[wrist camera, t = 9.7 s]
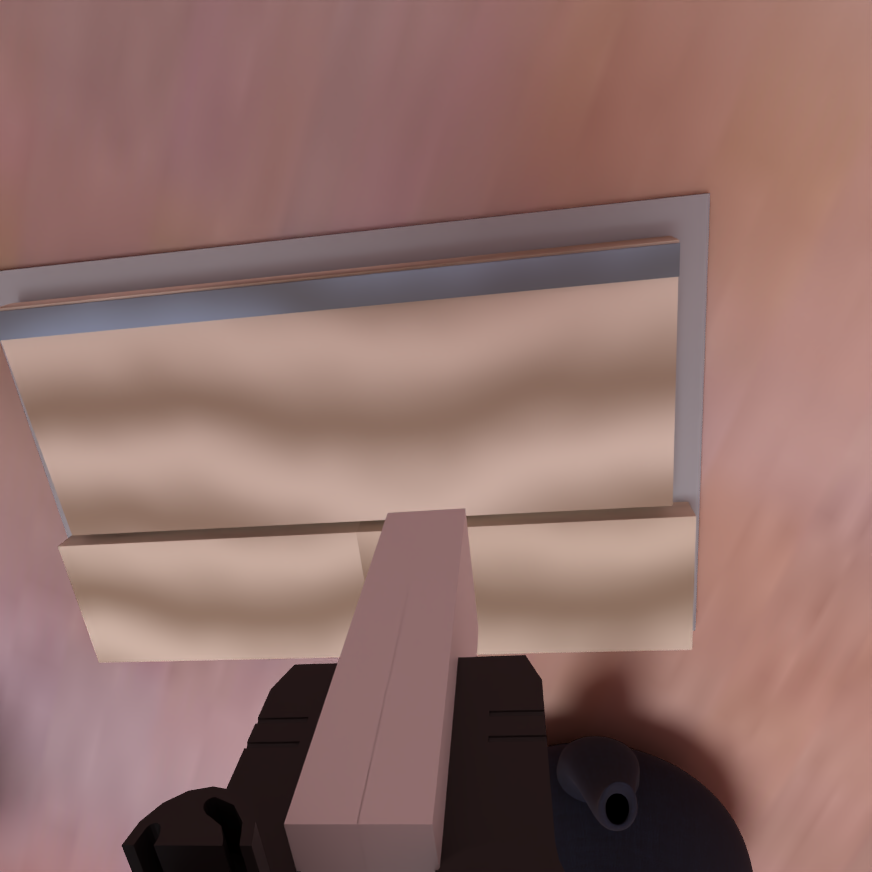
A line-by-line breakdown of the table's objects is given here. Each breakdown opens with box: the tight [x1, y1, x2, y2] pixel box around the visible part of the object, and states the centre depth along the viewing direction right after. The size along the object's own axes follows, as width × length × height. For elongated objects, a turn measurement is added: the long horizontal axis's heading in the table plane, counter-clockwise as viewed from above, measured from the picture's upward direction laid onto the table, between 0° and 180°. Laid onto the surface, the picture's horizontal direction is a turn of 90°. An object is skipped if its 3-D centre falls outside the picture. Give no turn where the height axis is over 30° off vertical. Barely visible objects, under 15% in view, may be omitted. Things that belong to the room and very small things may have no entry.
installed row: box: [58, 502, 696, 663], centre depth 32 cm, size 7×30×1 cm, turn 97°
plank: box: [0, 236, 680, 535], centre depth 29 cm, size 11×28×2 cm, turn 96°
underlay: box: [0, 193, 710, 631], centre depth 31 cm, size 20×31×1 cm, turn 96°
